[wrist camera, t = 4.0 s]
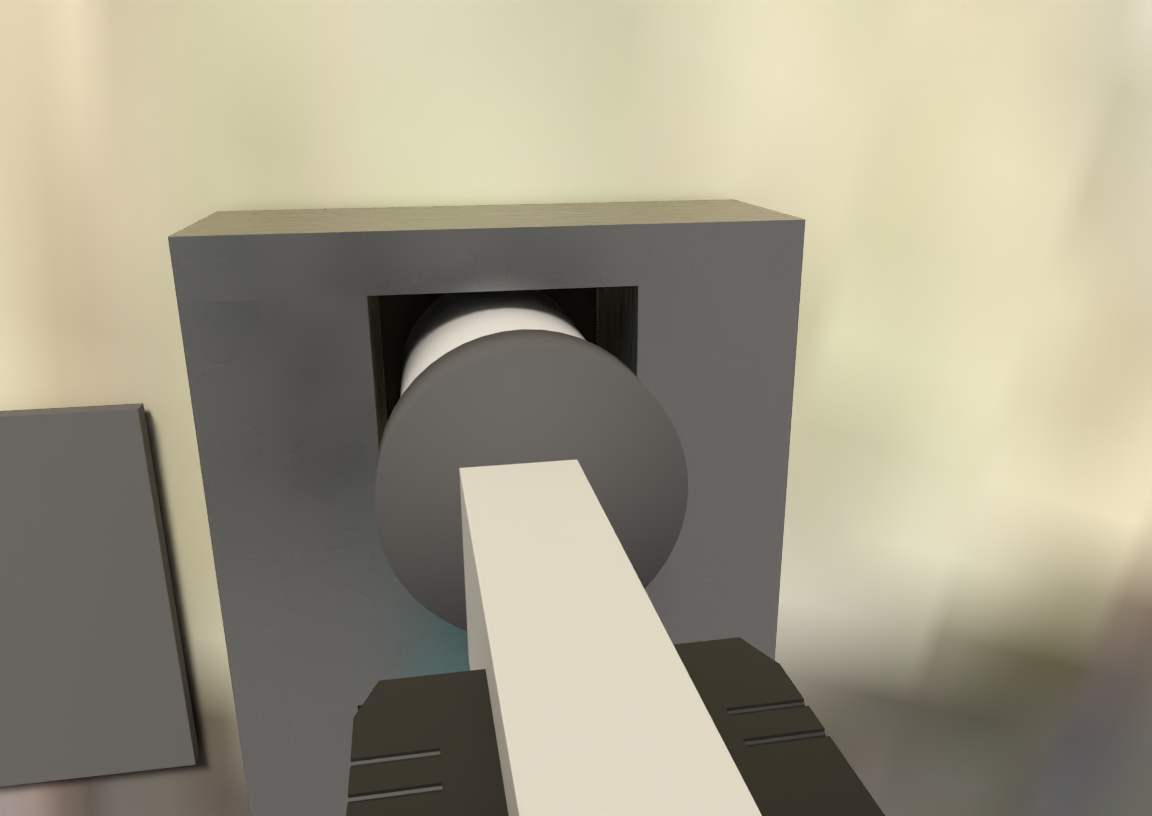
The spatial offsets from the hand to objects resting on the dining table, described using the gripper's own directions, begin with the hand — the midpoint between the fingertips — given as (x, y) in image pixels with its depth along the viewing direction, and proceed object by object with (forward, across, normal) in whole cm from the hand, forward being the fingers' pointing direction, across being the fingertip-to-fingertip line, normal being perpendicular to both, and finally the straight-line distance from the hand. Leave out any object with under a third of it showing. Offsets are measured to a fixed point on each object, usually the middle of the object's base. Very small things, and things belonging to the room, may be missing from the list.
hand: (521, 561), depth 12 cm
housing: (+9, 0, -5) cm, 11 cm away
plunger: (+9, +1, 0) cm, 9 cm away
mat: (+10, -12, -5) cm, 16 cm away
